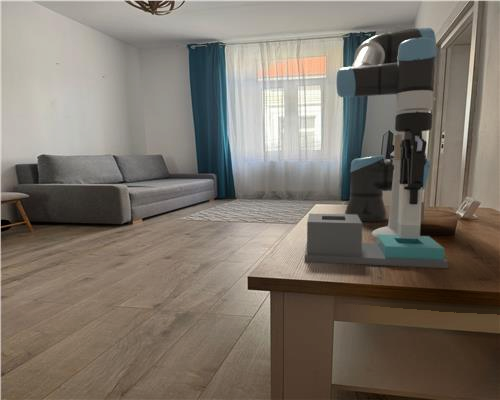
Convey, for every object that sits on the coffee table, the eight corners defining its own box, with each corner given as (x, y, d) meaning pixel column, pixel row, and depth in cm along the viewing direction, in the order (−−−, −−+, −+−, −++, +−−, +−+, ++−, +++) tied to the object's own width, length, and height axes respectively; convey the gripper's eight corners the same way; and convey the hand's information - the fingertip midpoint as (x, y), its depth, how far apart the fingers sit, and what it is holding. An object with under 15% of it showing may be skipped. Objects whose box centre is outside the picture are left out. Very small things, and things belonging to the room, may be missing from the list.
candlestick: (391, 242, 99) (395, 131, 95) (362, 233, 111) (365, 134, 107) (428, 239, 103) (434, 131, 100) (396, 230, 115) (400, 134, 112)
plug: (400, 237, 83) (403, 185, 81) (397, 234, 86) (399, 183, 85) (423, 238, 82) (426, 185, 80) (419, 234, 85) (421, 184, 84)
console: (304, 261, 83) (304, 222, 81) (307, 246, 96) (307, 212, 95) (447, 268, 77) (450, 226, 76) (428, 251, 90) (430, 215, 89)
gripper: (444, 107, 72) (438, 224, 74) (421, 116, 88) (417, 211, 91) (404, 108, 73) (399, 223, 76) (389, 117, 90) (385, 211, 93)
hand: (409, 216), depth 84 cm, fingers closed on plug, 4 cm apart
